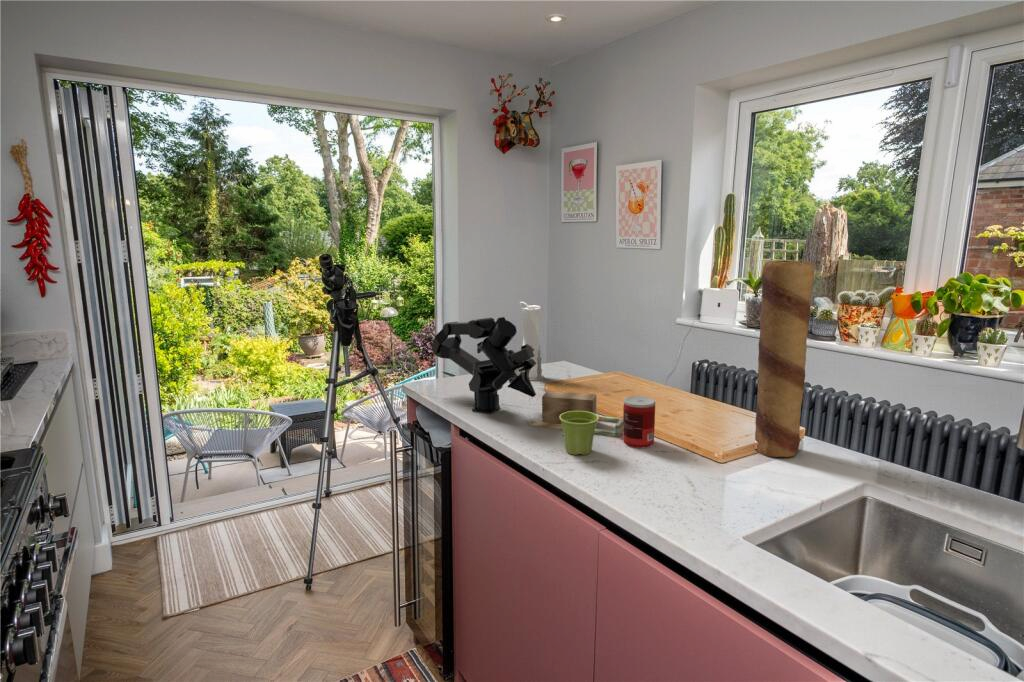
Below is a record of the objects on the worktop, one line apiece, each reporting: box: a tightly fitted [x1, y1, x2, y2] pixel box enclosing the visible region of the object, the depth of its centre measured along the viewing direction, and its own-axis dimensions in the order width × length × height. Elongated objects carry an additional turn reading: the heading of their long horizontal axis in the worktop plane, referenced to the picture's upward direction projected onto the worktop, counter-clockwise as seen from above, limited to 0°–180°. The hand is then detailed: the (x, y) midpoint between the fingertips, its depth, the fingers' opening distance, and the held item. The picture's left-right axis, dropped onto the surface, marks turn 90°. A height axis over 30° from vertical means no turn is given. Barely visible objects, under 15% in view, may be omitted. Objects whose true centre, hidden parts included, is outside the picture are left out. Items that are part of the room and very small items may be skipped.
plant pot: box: [559, 411, 600, 456], centre depth 138 cm, size 9×9×9 cm
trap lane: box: [529, 415, 623, 438], centre depth 158 cm, size 25×22×3 cm
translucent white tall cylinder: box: [519, 301, 545, 382], centre depth 206 cm, size 8×8×28 cm
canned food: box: [622, 395, 656, 449], centre depth 142 cm, size 8×8×11 cm
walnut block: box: [541, 390, 597, 424], centre depth 159 cm, size 14×6×8 cm, turn 73°
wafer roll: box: [754, 259, 815, 459], centre depth 133 cm, size 10×11×45 cm
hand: (534, 395), depth 162 cm, fingers closed
